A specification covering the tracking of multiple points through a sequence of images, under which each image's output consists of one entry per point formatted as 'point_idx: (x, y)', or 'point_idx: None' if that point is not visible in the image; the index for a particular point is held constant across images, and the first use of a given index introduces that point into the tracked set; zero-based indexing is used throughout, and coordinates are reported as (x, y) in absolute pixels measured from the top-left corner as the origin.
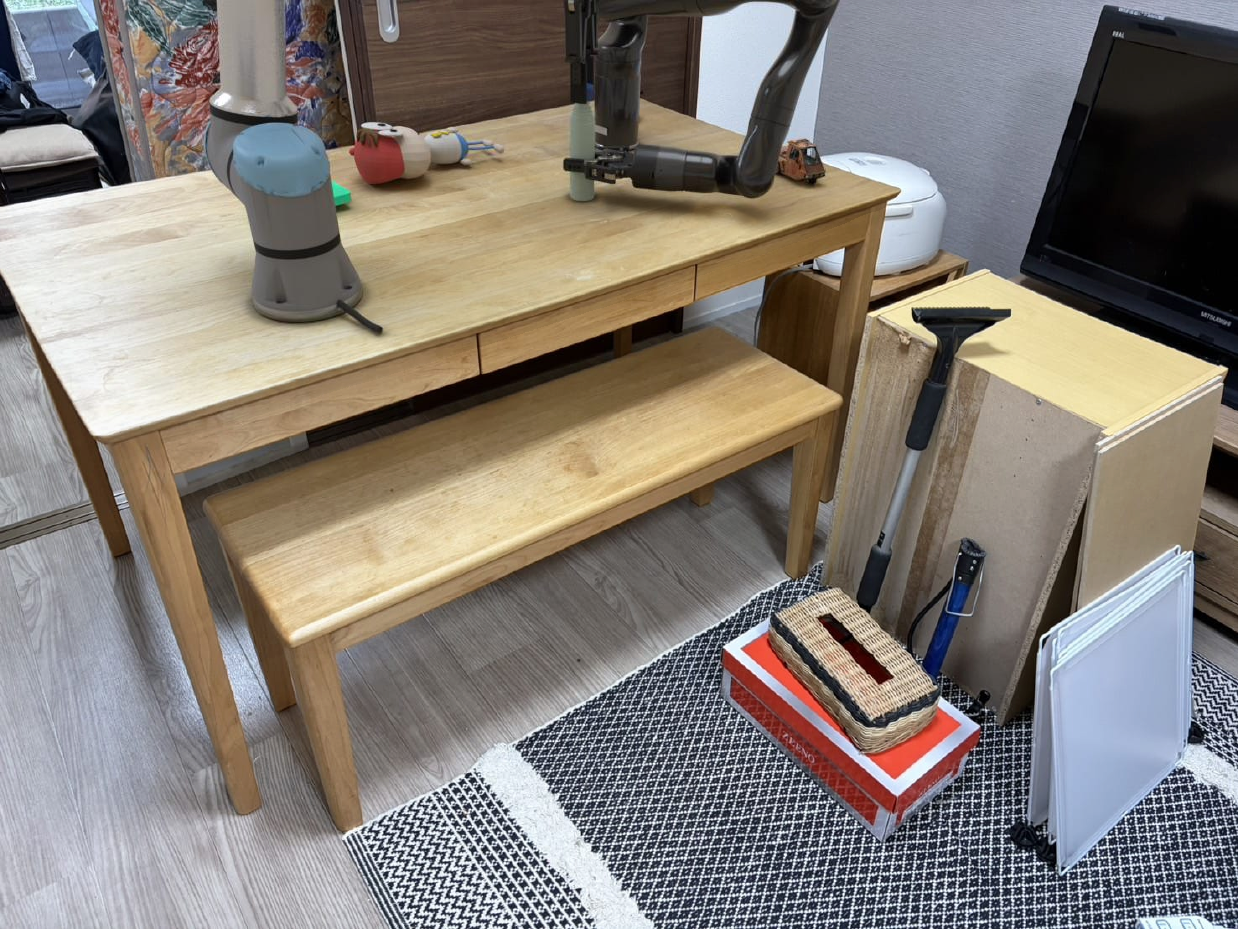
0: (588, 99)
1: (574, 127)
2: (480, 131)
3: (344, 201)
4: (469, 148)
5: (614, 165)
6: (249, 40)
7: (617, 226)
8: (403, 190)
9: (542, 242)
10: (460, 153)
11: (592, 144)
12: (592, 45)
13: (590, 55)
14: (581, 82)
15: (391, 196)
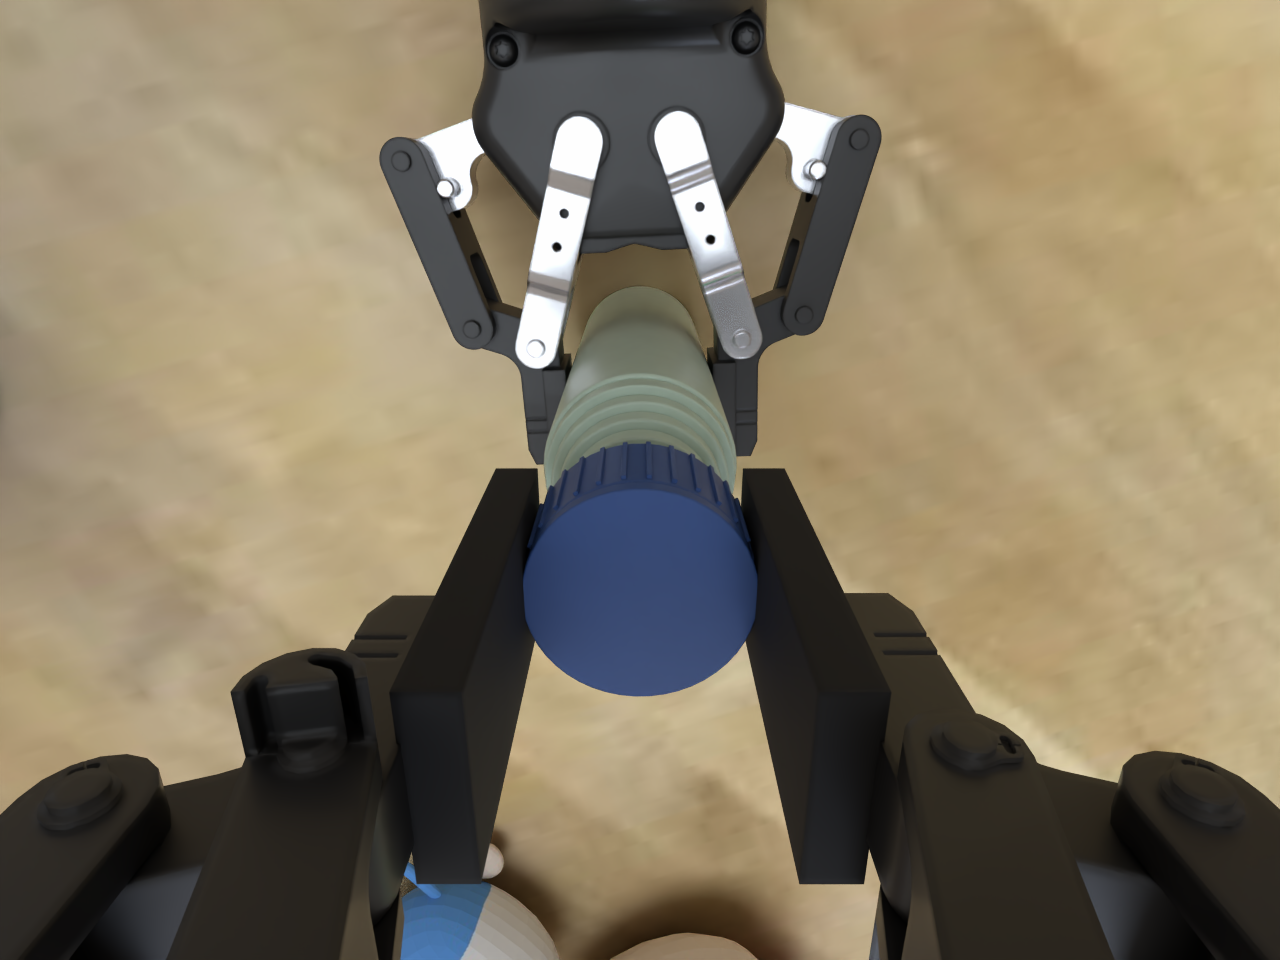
0: (712, 471)
1: None
2: None
3: None
4: (436, 891)
5: (759, 152)
6: None
7: (966, 69)
8: (770, 929)
9: (1186, 359)
10: (491, 900)
11: (669, 343)
12: (358, 848)
13: (390, 749)
14: (852, 600)
15: (831, 939)
